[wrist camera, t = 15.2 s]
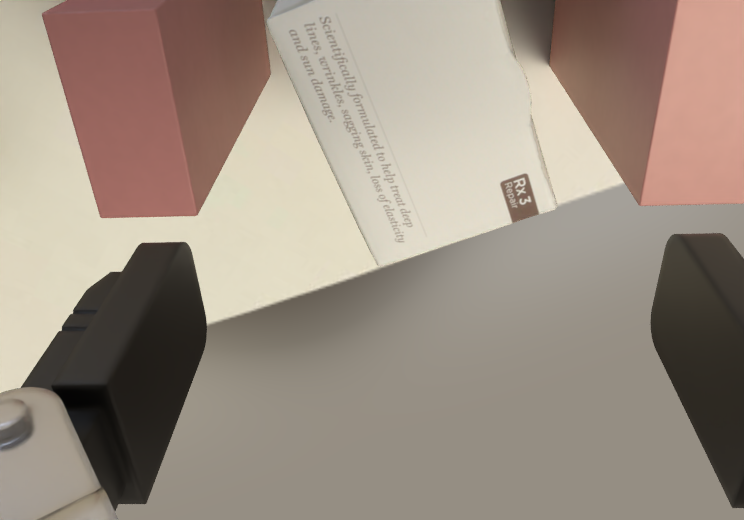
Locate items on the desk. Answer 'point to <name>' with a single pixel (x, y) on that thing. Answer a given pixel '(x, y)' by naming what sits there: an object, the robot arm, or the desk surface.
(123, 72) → the rose book
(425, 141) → the cosmetic box
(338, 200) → the desk surface
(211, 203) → the desk surface
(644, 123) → the rose book
